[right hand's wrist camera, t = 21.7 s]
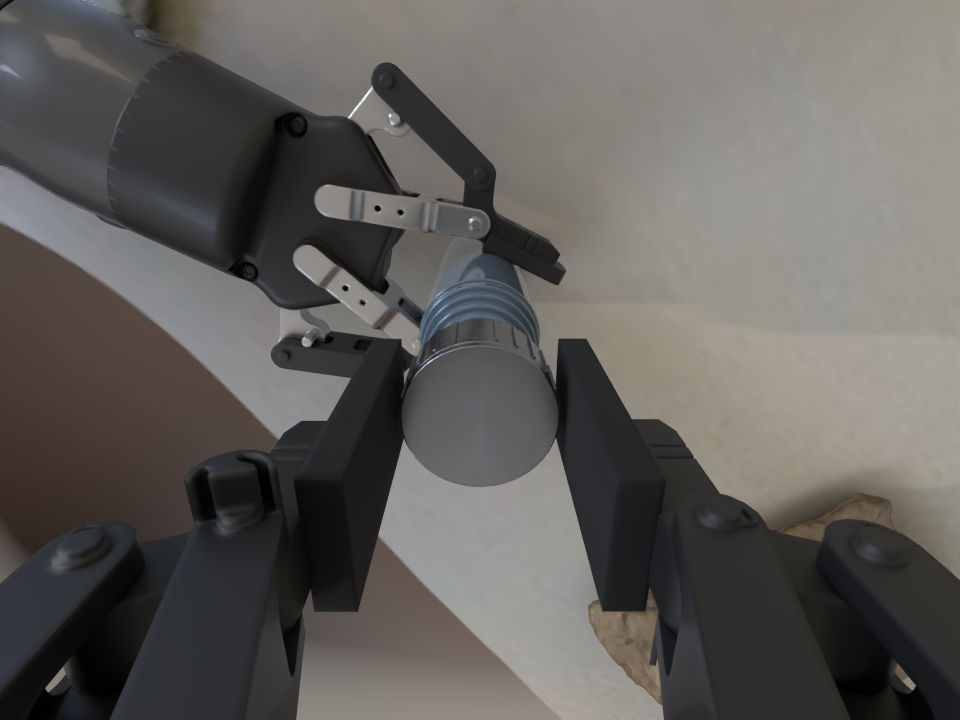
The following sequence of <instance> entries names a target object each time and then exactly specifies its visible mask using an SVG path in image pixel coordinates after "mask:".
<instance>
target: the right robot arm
mask: <svg viewBox="0 0 960 720" xmlns="http://www.w3.org/2000/svg"><path fill="white" fill-rule="evenodd" d="M403 388H404V372H403V355H402V339H373V341H372V343H371V344H370V346H369V348H368V350H367V352H366V353H365V355H364V357H363V359H362V360H361V362H360V364H359V366H358V367H357V369H356V371H355V373H354V375H353V376H352V378H351V380H350V382H349V383H348V385H347V387H346V389H345V390H344V392H343V394H342V396H341V398H340V399H339V401H338V403H337V405H336V406H335V408H334V410H333V412H332V413H331V415H330V417H329V419H328V421H301V422H299V423H298V424H296V425H295V426H293V427H292V428H291V429H289V430H288V431H286V432H285V433H284V434H283V435H282V437H281V438H280V440H279V441H278V442H277V444H276V445H275V449H273V450H272V451H271V452H270V454H268V453H265V452H261V451H257V450H240V451H234V452H229V453H224V454H221V455H218V456H215V457H213V458H210V459H208V460H205V461H204V462H202V463H200V464H199V465H197V466H196V467H194V468H193V469H191V470H190V472H189V473H188V474H187V475H186V476H185V477H184V479H183V480H184V483H185V487H186V491H187V495H188V499H189V503H190V507H191V511H192V515H193V519H194V523H195V524H194V527H193V529H192V531H191V532H189V533H185V534H182V535H178V536H173V537H168V538H163V539H159V540H154V541H149V542H144V543H139V540H138V536H137V533H136V530H135V529H134V528H133V527H132V526H130V525H129V524H128V523H123V522H118V521H108V522H98V523H93V524H89V525H86V526H81V527H79V528H76V529H73V530H71V531H70V532H67V533H65V534H63V535H61V536H59V537H57V538H55V539H54V540H52V541H51V542H49V543H48V544H46V545H45V546H44V547H42V548H41V549H39V550H38V551H37V552H36V553H35V554H33V555H32V556H31V557H30V558H29V559H28V560H27V561H25V562H24V563H23V564H22V565H21V566H20V567H19V568H18V569H16V570H15V571H14V572H13V573H12V574H11V575H10V576H8V577H7V578H6V579H5V580H4V581H3V582H2V583H1V584H0V720H296V715H297V706H298V696H299V687H300V677H301V668H302V659H303V649H304V640H305V627H304V621H303V615H302V610H303V607H304V605H305V602H306V599H307V597H308V594H309V592H310V589H311V593H312V599H313V605H314V611H315V612H357V611H358V609H359V605H360V601H361V597H362V594H363V590H364V586H365V582H366V579H367V575H368V571H369V567H370V563H371V560H372V556H373V552H374V548H375V544H376V541H377V537H378V533H379V530H380V526H381V522H382V518H383V514H384V511H385V507H386V503H387V499H388V496H389V492H390V488H391V484H392V481H393V477H394V473H395V469H396V465H397V462H398V458H399V454H400V450H401V447H402V443H403V439H404V436H403V433H402V429H401V424H400V409H401V403H402V399H401V395H402V391H403ZM556 388H557V391H556V392H555V393H556V396H557V400H558V403H559V406H560V410H559V414H560V417H559V427H558V431H557V435H556V439H557V443H558V447H559V450H560V454H561V458H562V462H563V465H564V469H565V473H566V477H567V480H568V484H569V488H570V492H571V496H572V499H573V503H574V507H575V511H576V514H577V518H578V522H579V526H580V530H581V533H582V537H583V541H584V545H585V548H586V552H587V556H588V560H589V563H590V567H591V571H592V575H593V579H594V582H595V586H596V590H597V594H598V597H599V601H600V605H601V609H602V612H646V606H647V599H648V593H649V587H650V589H651V592H652V594H653V597H654V599H655V602H656V604H657V607H658V615H657V621H656V626H655V632H654V638H653V644H652V650H651V656H650V663H649V665H653V666H656V663H657V658H658V667H659V676H660V686H661V695H662V704H663V714H664V720H960V580H959V579H958V578H957V577H956V576H954V575H953V574H952V573H951V572H950V571H949V570H948V569H946V568H945V567H944V566H943V565H942V564H941V563H939V562H938V561H937V560H936V559H935V558H934V557H933V556H931V555H930V554H929V553H928V552H927V551H926V550H925V549H923V548H922V547H921V546H919V545H918V544H916V543H915V542H914V541H912V540H911V539H909V538H908V537H906V536H905V535H903V534H900V533H898V532H896V531H894V530H892V529H890V528H888V527H886V526H883V525H881V524H878V523H877V524H875V523H874V522H869V521H865V520H856V519H841V520H836V521H832V522H831V523H830V524H829V525H827V526H826V527H825V530H824V533H823V536H822V540H821V541H817V540H812V539H807V538H803V537H798V536H793V535H788V534H783V533H780V532H776V531H772V530H769V529H768V528H767V526H766V523H765V522H764V520H763V519H762V518H761V516H760V515H759V514H758V512H756V511H755V510H754V509H752V508H751V507H750V506H748V505H747V504H745V503H744V502H742V501H739V500H737V499H735V498H732V497H730V496H727V495H723V494H720V493H719V492H718V490H717V489H716V487H715V486H714V485H713V483H712V482H711V480H710V479H709V477H708V476H707V475H706V473H705V472H704V470H703V469H702V467H701V466H700V465H699V463H698V462H697V460H696V459H694V458H693V455H692V453H691V452H690V450H689V449H688V447H686V445H685V443H684V442H683V440H682V439H681V437H680V436H679V434H678V433H677V432H676V431H675V430H674V429H672V428H671V427H669V426H668V425H666V424H665V423H663V422H662V421H660V420H659V419H631V417H630V415H629V413H628V412H627V410H626V408H625V406H624V405H623V403H622V401H621V399H620V398H619V396H618V394H617V392H616V390H615V389H614V387H613V385H612V383H611V382H610V380H609V378H608V376H607V375H606V373H605V371H604V369H603V367H602V366H601V364H600V362H599V360H598V359H597V357H596V355H595V353H594V352H593V350H592V348H591V346H590V344H589V343H588V341H587V339H558V355H557V372H556ZM898 664H899V666H900V667H901V668H902V669H903V670H904V672H905V673H906V674H907V675H908V676H909V678H910V679H911V680H912V681H913V682H914V684H915V685H916V687H915V689H914V690H911V689H910V688H908V687H907V686H906V685H905V684H904V683H903V682H902V680H901V679H900V678H899V677H898V676H897V674H896V673H895V670H896V667H897V665H898ZM62 667H64V669H65V672H66V675H65V676H64V677H63V679H62V680H61V681H60V682H59V683H58V685H56V686H55V687H54V688H53V689H52V690H51V691H50V692H49V693H48V692H47V691H46V689H45V688H46V686H47V685H48V684H49V683H50V682H51V680H52V679H53V678H54V677H55V676H56V674H57V673H58V672H59V671H60V670H61V668H62Z"/></svg>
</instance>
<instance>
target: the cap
mask: <svg viewBox="0 0 960 720" xmlns="http://www.w3.org/2000/svg"><path fill="white" fill-rule="evenodd" d="M556 391H557V388H556V385H555V382H554V379H553V376H552V372H551V369H550V366H549V365H547V364H546V360H545V357H544V354H543V351H542V350H541V349H540V350H539V349H538V347H537V346H536V345H535V343H534V342H533V341H532V340H531V337H530V336H528V337H527V336H526V335H525V334H523V333H522V332H521V331H519V330H517V329H516V328H515V326H513V325H512V326H509V325H507V324H505V323H501V322H497V320H495V319H494V321H493V320H483V319H477V318H474V320H467V321H462V322H458V321H457V322H455V323H454V324H453V325H450V326H448V327H446V328H444V329H442V330H440V329H439V330H437V333H436V334H435V335H433V336H432V337H431V338H430V339H429V340H428V341H427V342H426V341H424V343H423V345H422V348H421V349H420V351H419V353H418V354H417V356H414V358H413V360H412V364H411V367H410V370H409V373H408V376H407V379H406V382H405V385H404V388H403V391H402V395H401V399H402V403H401V409H400V424H401V429H402V433H403V436H404V439H405V442H406V443H407V445H408V447H409V449H410V451H411V452H412V454H413V455H414V456H415V458H416V459H417V460H418V461H419V462H420V463H421V464H422V465H423V466H424V467H425V468H427V469H428V470H429V471H431V472H432V473H434V474H435V475H437V476H439V477H441V478H443V479H445V480H447V481H450V482H453V483H456V484H461V485H465V486H474V487H485V486H494V485H499V484H504V483H507V482H509V481H512V480H515V479H517V478H519V477H521V476H523V475H524V474H526V473H528V472H529V471H530V470H532V469H533V468H534V467H535V466H537V465H538V464H539V463H540V462H541V461H542V460H543V458H544V457H545V456H546V454H547V453H548V452H549V450H550V448H551V446H552V445H553V443H554V440H555V438H556V435H557V431H558V427H559V417H560V414H559V410H560V406H559V403H558V400H557V396H556V393H555V392H556Z"/></svg>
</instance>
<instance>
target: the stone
mask: <svg viewBox="0 0 960 720" xmlns="http://www.w3.org/2000/svg"><path fill="white" fill-rule="evenodd" d="M891 510H892V505H891V502H890V501H889V500H886V499H883V498H880V497H876V496H871V495H866V494H863V493H858V494H856V495H854V496H853V497H851V498H850V499H848V500H846V501H842V502H839V503H838V505H837V506H836V508H835V509H834V510H832V511H830V512H828V513H827V514H825V515H824V516H822V517H821V518H817V519H813V520H808V521H806V522H803V523H792V524H790V525H787V526H784V527H782V528H780V529H779V530H778V531H776V532H780V533H783V534H788V535H793V536H798V537H803V538H807V539H812V540H817V541H821V540H822V536H823V533H824V530H825V527H826V526H827V525H829V524H830V523H831V522H832V521H836V520H841V519H856V520H865V521H869V522H874V523H875V524H877V523H878V524H881V525H883V526H886V527H888V528H890V529H892V530H894V531H895V529H894V527H893V525H892V521H891V518H890V513H891ZM588 607H589V620H590V623H591V625H592V627H593V628H594V632H595V634H596V636H597V638H598V639H599V641H600V642H601V644H602V645H603V646H604V647H605V649H606V651H607V652H608V654H609V655H610V656H611V657H612V659H613V660H614V661H615V662H616V663H617V664H618V665H620V666H621V667H622V668H623V669H624V670H625V672H626V674H627V676H628V677H630V678H631V679H632V680H633V681H634V682H635V683H636V684H638V685H640V686H641V687H643V688H644V689H646V691H647V692H648V693H649V694H650V695H651V696H653V697H654V699H655V700H656V701H657V702H658V703H659V704H661V705H663V704H662V695H661V686H660V676H659V667H658V658H657V663H656V666H653V665H649V663H650V656H651V650H652V644H653V638H654V632H655V626H656V621H657V615H658V607H657V604H656V602H655V599H654V597H653V594H652V592H651V590H649V593H648V599H647V606H646V612H602V609H601V605H600V601H599V600H596V601H593V602H592V603H591V604H590V605H589V606H588ZM895 673H896V674H897V676H898V677H899V678H900V679H901V680H904V679H905V678H907V677H908V675H907V674H906V673H905V672H904V670H903V669H902V668H901V667H900V666H899V664H898V665H897V667H896V670H895Z"/></svg>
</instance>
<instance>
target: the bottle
mask: <svg viewBox="0 0 960 720" xmlns="http://www.w3.org/2000/svg"><path fill="white" fill-rule="evenodd" d="M474 318H477V319H483V320H493V321H494V319H495V320H497V322H501V323H505V324H507V325H509V326H512V325H513V326H515V328H516V329H517V330H519V331H521V332H522V333H523V334H525V335H526V336H527V337H528V336H530V337H531V340H532V341H533V342H534V343H535V345H536V346H537V347H538V349H539V342H540V329H539V323H538V319H537V316H536V313H535V310H534V307H533V304H532V302H531V299H530V296H529V293H528V290H527V287H526V284H525V281H524V278H523V275H522V272H521V269H520V267H518V266H516V265H514V264H512V263H510V262H508V261H506V260H504V259H503V258H501V257H498V256H496V255H494V254H492V253H490V252H488V251H486V250H484V249H483V247H482V242H481V241H479V240H477V239H470V238H464V237H459V236H456V237H455V238H454V239H453V240H452V241H451V242H450V244H449V245H448V247H447V249H446V251H445V253H444V256H443V259H442V262H441V265H440V268H439V271H438V274H437V277H436V280H435V282H434V285H433V288H432V291H431V294H430V297H429V300H428V303H427V306H426V309H425V312H424V315H423V318H422V321H421V325H420V348H422V345H423V343H424V341H426V342H427V341H428V340H429V339H430V338H431V337H432V336H433V335H435V334H436V333H437V330H439V329H440V330H442V329H444V328H446V327H448V326H450V325H453V324H454V323H455V322H457V321H458V322H462V321H467V320H474Z"/></svg>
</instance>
